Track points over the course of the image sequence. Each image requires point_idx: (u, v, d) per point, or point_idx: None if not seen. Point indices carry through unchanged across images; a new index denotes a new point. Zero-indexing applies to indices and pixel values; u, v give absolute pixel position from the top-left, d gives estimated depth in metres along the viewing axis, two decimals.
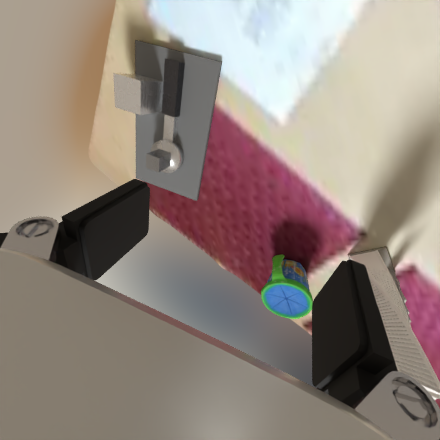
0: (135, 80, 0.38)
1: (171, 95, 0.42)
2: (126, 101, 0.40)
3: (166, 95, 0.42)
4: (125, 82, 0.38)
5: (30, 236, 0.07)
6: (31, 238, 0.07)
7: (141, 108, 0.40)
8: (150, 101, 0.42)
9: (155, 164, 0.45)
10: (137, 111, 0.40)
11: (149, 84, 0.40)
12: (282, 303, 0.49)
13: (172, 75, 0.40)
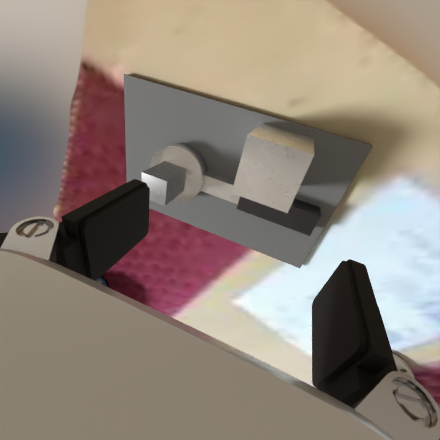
0: (289, 202, 0.19)
1: (267, 212, 0.26)
2: (256, 169, 0.19)
3: None
4: (290, 179, 0.18)
5: (30, 236, 0.07)
6: (31, 238, 0.07)
7: None
8: None
9: (151, 194, 0.24)
10: (238, 188, 0.20)
11: None
12: None
13: (294, 221, 0.25)
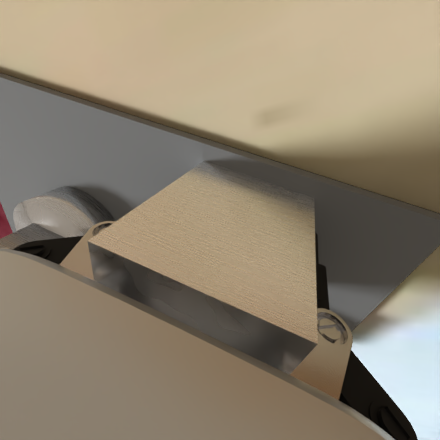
0: None
1: None
2: None
3: None
4: None
5: None
6: None
7: None
8: None
9: None
10: None
11: None
12: None
13: None
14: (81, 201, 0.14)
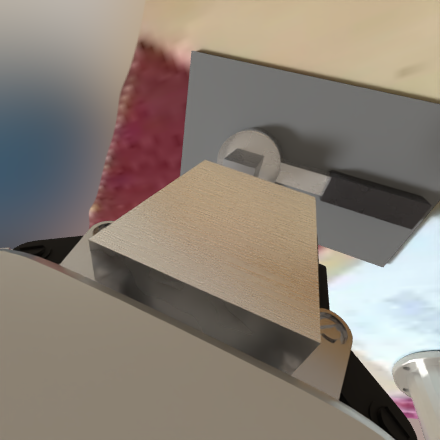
0: None
1: (360, 203, 0.23)
2: None
3: (363, 193, 0.22)
4: None
5: None
6: None
7: None
8: None
9: None
10: None
11: None
12: None
13: (394, 213, 0.22)
14: (267, 134, 0.24)
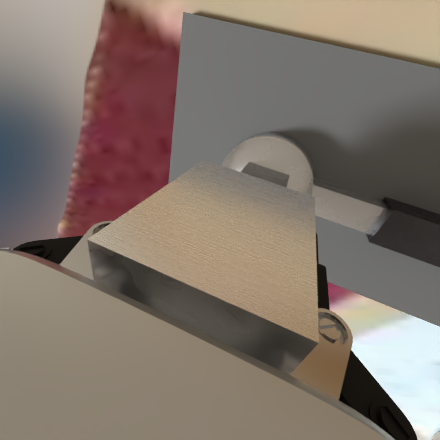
0: None
1: (433, 251, 0.15)
2: None
3: None
4: None
5: None
6: None
7: None
8: None
9: None
10: None
11: None
12: None
13: None
14: (294, 141, 0.16)
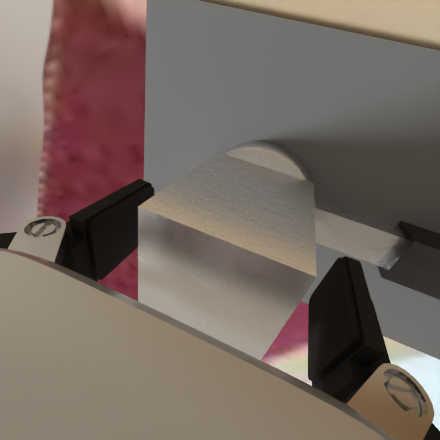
0: (259, 352, 0.08)
1: None
2: (176, 280, 0.08)
3: None
4: (256, 314, 0.07)
5: (38, 235, 0.07)
6: (39, 237, 0.07)
7: None
8: None
9: None
10: (149, 306, 0.09)
11: None
12: None
13: None
14: (288, 153, 0.13)
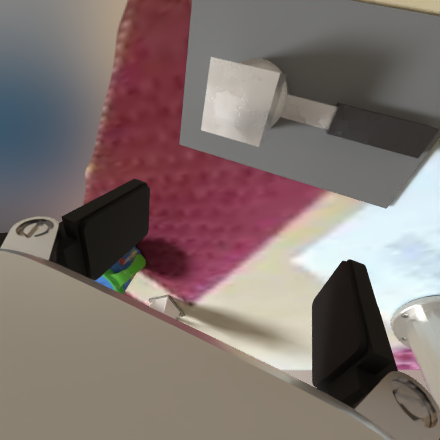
0: (260, 134, 0.19)
1: (367, 133, 0.22)
2: (223, 98, 0.18)
3: (371, 122, 0.22)
4: (258, 105, 0.18)
5: (30, 236, 0.07)
6: (31, 238, 0.07)
7: (213, 132, 0.20)
8: None
9: None
10: (207, 123, 0.20)
11: None
12: None
13: (401, 141, 0.22)
14: (273, 64, 0.23)
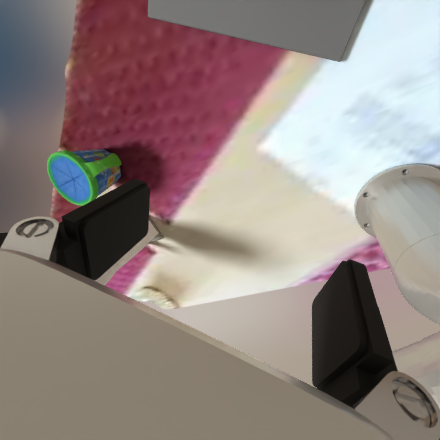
0: None
1: None
2: None
3: None
4: None
5: (30, 236, 0.07)
6: (31, 238, 0.07)
7: None
8: None
9: None
10: None
11: None
12: (65, 176, 0.43)
13: None
14: None
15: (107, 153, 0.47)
